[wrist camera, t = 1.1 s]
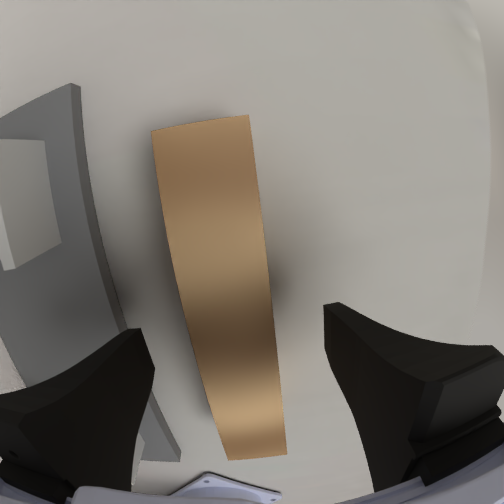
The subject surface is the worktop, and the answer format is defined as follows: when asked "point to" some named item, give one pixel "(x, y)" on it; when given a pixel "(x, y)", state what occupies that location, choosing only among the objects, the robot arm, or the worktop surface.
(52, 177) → the bracket board
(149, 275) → the worktop surface
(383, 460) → the robot arm
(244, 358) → the rail
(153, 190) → the worktop surface
